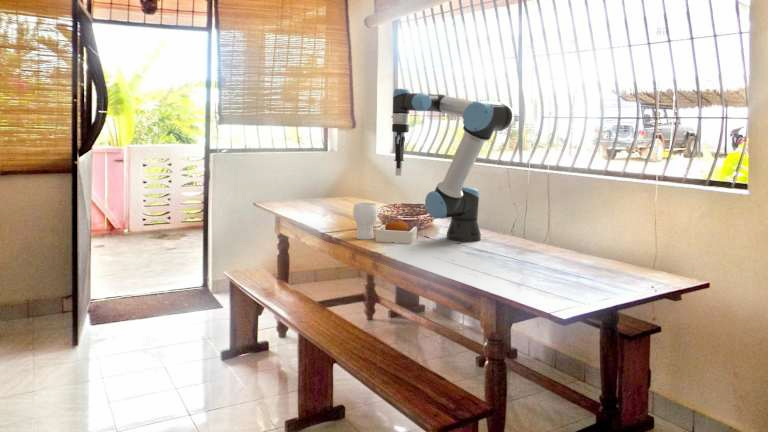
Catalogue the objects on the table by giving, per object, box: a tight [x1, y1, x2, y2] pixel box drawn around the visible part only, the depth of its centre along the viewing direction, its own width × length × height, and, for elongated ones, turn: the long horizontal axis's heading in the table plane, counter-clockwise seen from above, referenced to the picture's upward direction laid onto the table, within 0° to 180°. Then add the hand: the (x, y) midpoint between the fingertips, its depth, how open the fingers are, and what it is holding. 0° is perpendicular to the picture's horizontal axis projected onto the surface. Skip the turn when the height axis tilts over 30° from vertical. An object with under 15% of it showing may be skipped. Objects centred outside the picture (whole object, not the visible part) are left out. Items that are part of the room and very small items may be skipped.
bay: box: [375, 219, 419, 245], centre depth 273 cm, size 16×16×7 cm
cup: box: [352, 202, 379, 240], centre depth 274 cm, size 11×11×15 cm
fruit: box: [385, 220, 410, 231], centre depth 274 cm, size 11×10×8 cm
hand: (398, 175), depth 288 cm, fingers closed
